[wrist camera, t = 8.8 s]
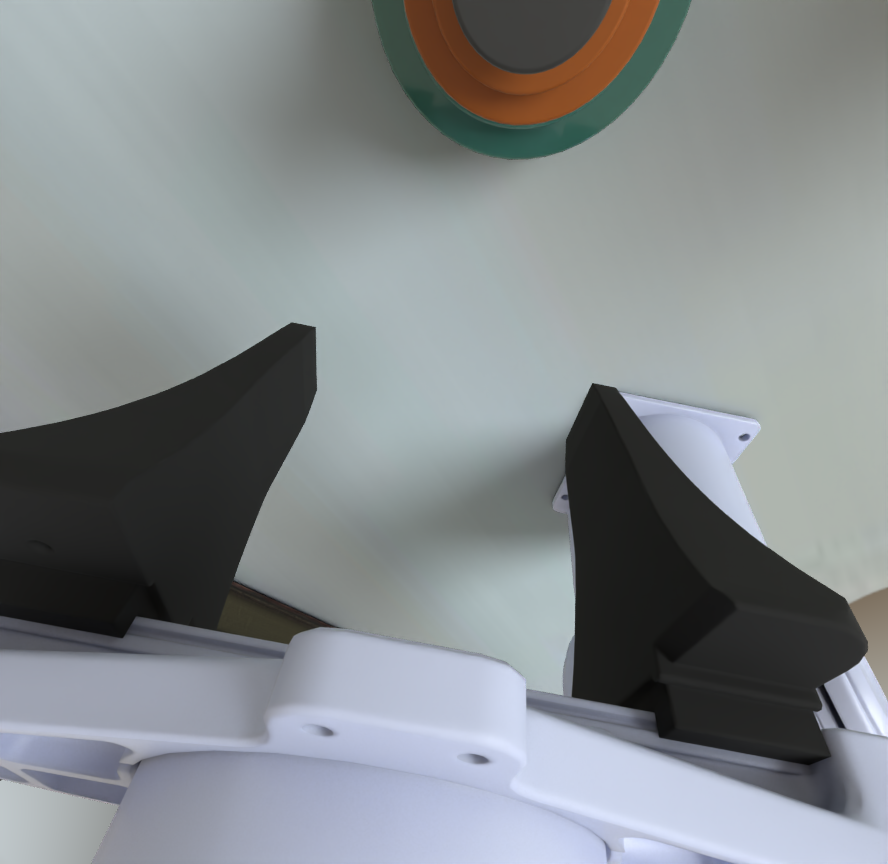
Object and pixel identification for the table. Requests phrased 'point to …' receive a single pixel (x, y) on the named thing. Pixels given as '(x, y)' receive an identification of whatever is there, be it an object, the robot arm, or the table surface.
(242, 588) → the diary
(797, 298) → the table surface
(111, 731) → the robot arm
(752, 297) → the table surface
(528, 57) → the amber bottle
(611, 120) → the green round container
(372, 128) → the table surface
